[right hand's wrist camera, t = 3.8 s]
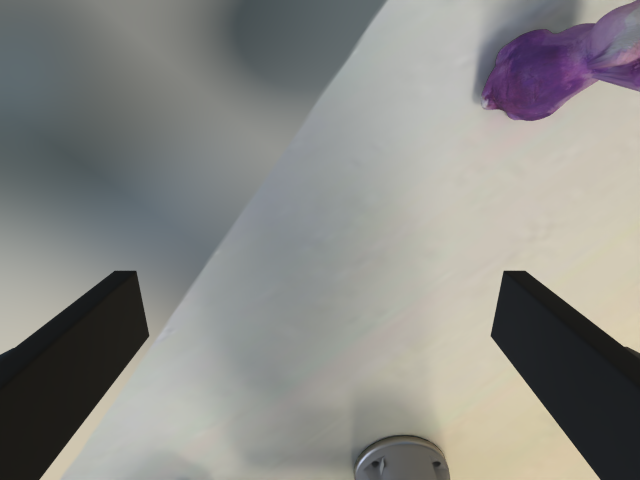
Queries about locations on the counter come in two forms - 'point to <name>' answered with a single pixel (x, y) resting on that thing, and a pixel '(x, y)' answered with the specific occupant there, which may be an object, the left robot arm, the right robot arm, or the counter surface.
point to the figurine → (564, 64)
